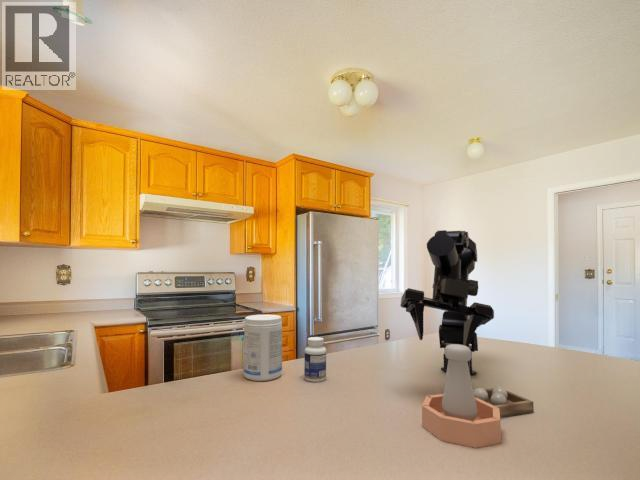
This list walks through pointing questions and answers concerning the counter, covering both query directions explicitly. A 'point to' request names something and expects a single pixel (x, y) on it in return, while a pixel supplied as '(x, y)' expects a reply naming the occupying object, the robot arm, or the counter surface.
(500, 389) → the white ball
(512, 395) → the pebble tray
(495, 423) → the bowl
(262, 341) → the supplement tub
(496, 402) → the pebble
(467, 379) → the salt shaker
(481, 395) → the pebble
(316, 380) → the pill bottle
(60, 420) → the counter surface
